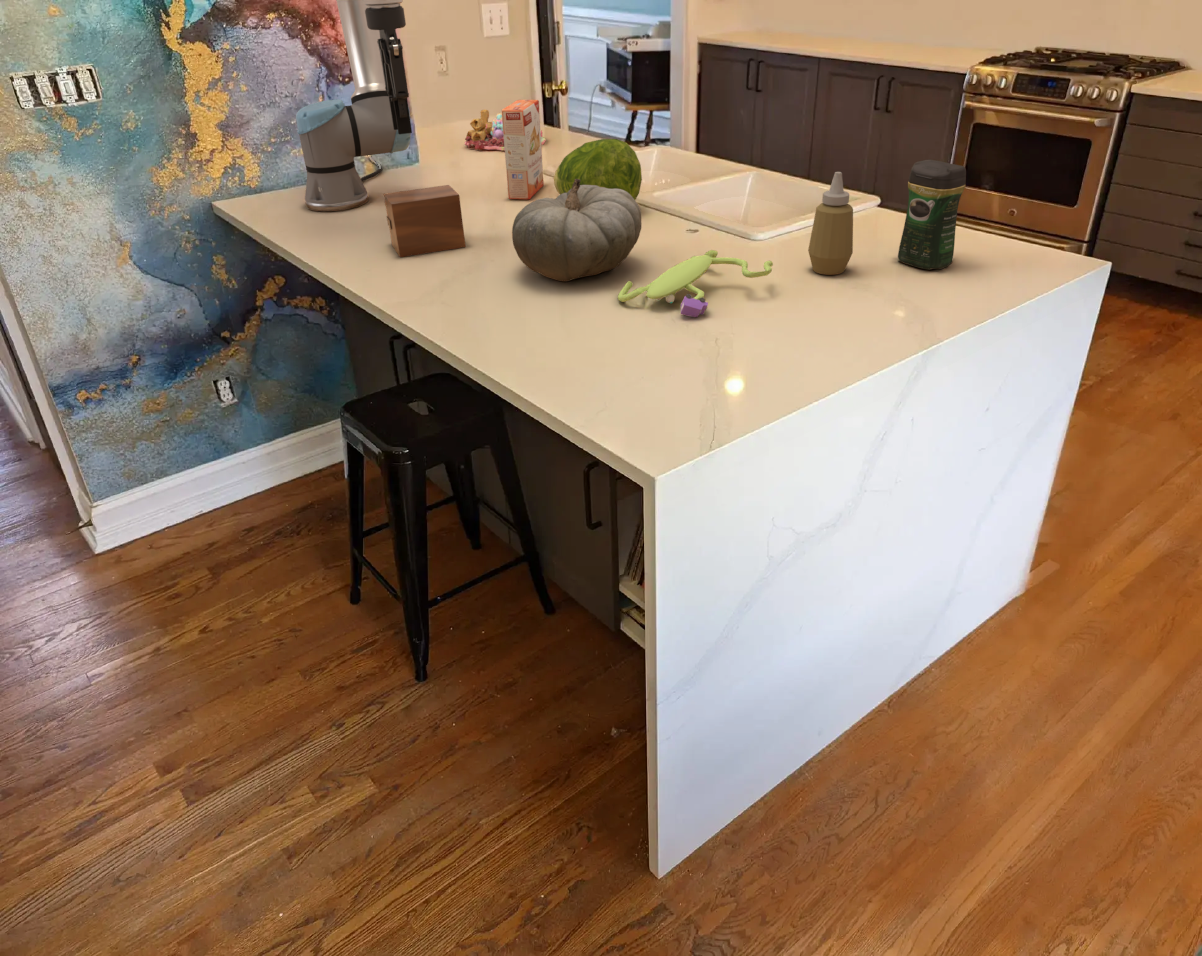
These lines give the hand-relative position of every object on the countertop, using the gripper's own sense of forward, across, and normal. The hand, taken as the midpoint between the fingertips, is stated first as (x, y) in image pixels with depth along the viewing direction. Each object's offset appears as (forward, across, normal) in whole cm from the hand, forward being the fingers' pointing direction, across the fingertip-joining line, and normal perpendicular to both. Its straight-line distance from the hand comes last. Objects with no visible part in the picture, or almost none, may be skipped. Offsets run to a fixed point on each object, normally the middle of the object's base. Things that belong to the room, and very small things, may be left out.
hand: (402, 130), depth 186 cm
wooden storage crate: (+22, +10, 0) cm, 24 cm away
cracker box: (+22, -20, +32) cm, 44 cm away
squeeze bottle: (+22, +63, +65) cm, 93 cm away
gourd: (+22, +40, +23) cm, 51 cm away
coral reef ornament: (+22, -79, +44) cm, 93 cm away
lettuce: (+22, +3, +41) cm, 47 cm away
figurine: (+22, +62, +38) cm, 76 cm away
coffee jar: (+22, +68, +83) cm, 110 cm away
